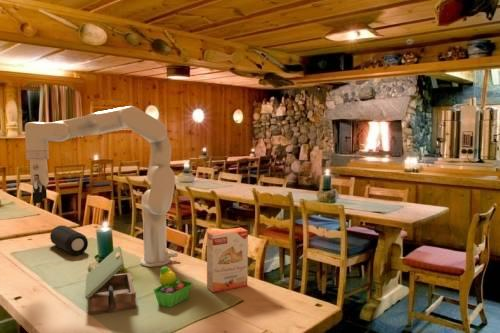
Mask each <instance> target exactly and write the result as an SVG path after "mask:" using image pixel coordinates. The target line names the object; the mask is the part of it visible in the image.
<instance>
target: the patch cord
mask: <svg viewBox="0 0 500 333" xmlns="http://www.w3.org/2000/svg"><path fill="white" fill-rule="evenodd" d="M108 287H109V301H110V309H111V310H113V309H114V308H115V305H114V295H113V285H112V284H109V286H108Z"/></svg>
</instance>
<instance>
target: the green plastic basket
mask: <svg viewBox="0 0 500 333" xmlns="http://www.w3.org/2000/svg"><path fill="white" fill-rule="evenodd" d="M159 275H160V276H159V283H160V286H158V287H156V288H154V289H153V293H154V295H155V298H156V301H157V303H158V305H161V306H163V307H166V308H167V307H168V308H171V307H173V306H175V305H177V304H179V303H180V302H182V301H184V300H187V299H188V298H189V294H190V291H191V287H192V285H193V283H192V282H190V281H184V280H182V279H177V275H176V273H175V272H174V271H173V270H172V269H171V268H170V267H168V266H162V267H161V268H160V272H159Z"/></svg>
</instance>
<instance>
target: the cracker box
mask: <svg viewBox="0 0 500 333" xmlns="http://www.w3.org/2000/svg"><path fill="white" fill-rule="evenodd" d="M248 251H249V230H247V229H245V228H243V227H236V228H226V229H218V230H209V231H206V287H207V289H208V290H210V291H211V292H212V293H215V292H216V293H217V292H221V291H227V290H232V289H238V288H243V287H247V286H248V275H249V274H248V273H249V272H248V271H249V270H248V267H249V266H248V265H249V262H248V261H249V260H248V257H249V256H248V255H249V252H248Z"/></svg>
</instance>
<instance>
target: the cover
mask: <svg viewBox="0 0 500 333" xmlns="http://www.w3.org/2000/svg"><path fill="white" fill-rule="evenodd" d="M124 267H125V262H124V256H123V253H122V247H121V246H120V245H118V246H117V247H116V248H115V249H114V250H113V251H111V252H110V253H109V254H108V255H107V256H105V257H104V259H103V260H101V262H99V263H98V264H97V265H96V266H95V267H94V268H93V269H92V270H90V271H89V272H88V273H87V274H86V278H85V290H84V291H85V293H84V298H85V299H86V300H88V298H90V297H91V296H92V295H93V294H94V293H95V292H96V291H97V290H98V289H99V288H100V287H102V286H103V285H104V284H105V283H106V282H107V281H108V280H109V279H110V278H111V277H113V276H114V275H115V274H118V272H119V271H120V270H122V269H123V268H124Z"/></svg>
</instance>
